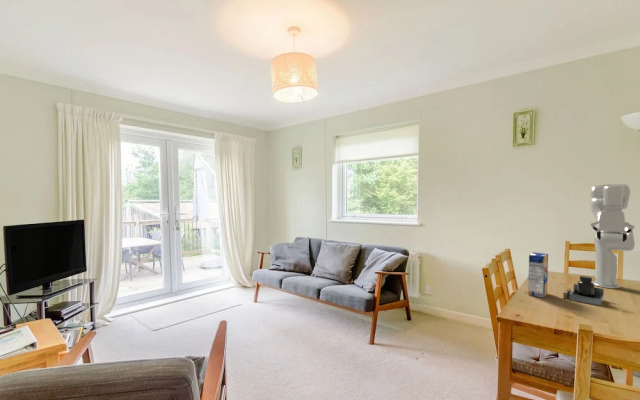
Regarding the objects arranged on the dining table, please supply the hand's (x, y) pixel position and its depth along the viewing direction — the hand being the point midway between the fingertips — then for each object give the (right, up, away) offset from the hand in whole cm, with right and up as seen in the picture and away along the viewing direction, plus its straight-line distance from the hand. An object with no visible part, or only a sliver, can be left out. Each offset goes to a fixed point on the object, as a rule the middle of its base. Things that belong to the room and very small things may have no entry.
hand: (611, 240), depth 169 cm
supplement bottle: (-19, -31, -6) cm, 36 cm away
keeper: (-18, -30, -6) cm, 36 cm away
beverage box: (-38, -30, +3) cm, 48 cm away
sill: (-24, -30, 0) cm, 39 cm away
